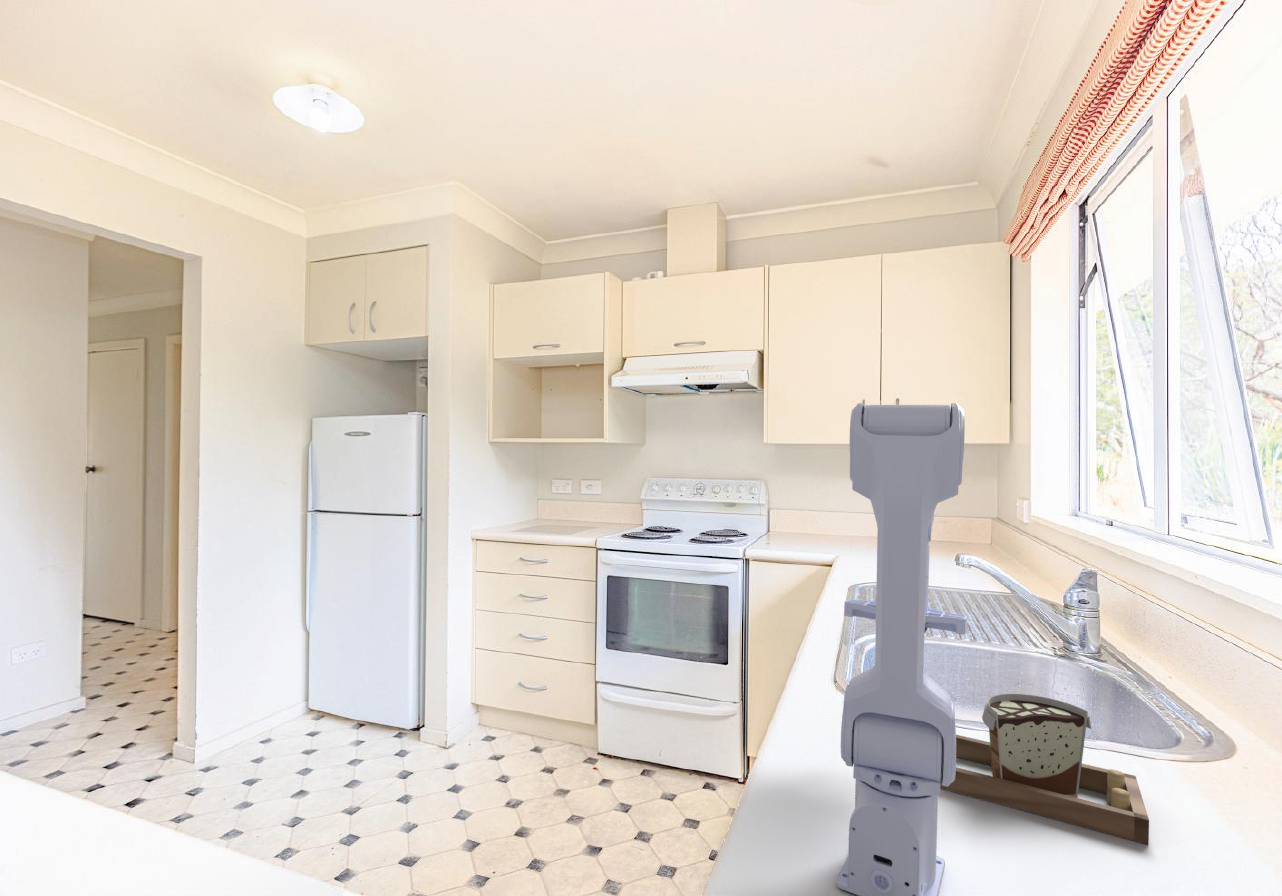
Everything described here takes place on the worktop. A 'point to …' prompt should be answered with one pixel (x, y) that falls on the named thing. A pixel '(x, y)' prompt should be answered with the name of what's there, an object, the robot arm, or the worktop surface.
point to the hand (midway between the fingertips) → (901, 680)
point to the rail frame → (1059, 795)
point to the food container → (1036, 741)
